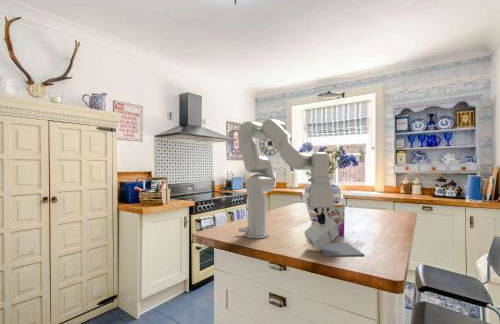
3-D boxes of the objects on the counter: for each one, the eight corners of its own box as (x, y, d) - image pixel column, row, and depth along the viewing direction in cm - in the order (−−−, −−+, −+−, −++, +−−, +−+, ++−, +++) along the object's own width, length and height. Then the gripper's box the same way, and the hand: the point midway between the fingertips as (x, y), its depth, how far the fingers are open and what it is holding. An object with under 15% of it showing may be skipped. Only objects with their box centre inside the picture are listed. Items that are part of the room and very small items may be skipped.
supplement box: (315, 240, 106) (336, 222, 110) (303, 231, 112) (324, 214, 116) (319, 252, 110) (339, 234, 113) (307, 242, 116) (327, 226, 119)
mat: (325, 256, 104) (325, 255, 104) (313, 244, 120) (313, 243, 120) (364, 255, 105) (364, 254, 105) (346, 244, 121) (346, 242, 121)
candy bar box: (323, 235, 136) (323, 204, 136) (321, 233, 141) (321, 202, 141) (344, 236, 135) (344, 204, 135) (342, 233, 140) (342, 203, 140)
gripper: (305, 181, 108) (307, 226, 107) (340, 180, 109) (342, 224, 108) (301, 181, 115) (302, 222, 114) (333, 180, 116) (335, 221, 115)
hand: (321, 223), depth 111 cm, fingers closed
